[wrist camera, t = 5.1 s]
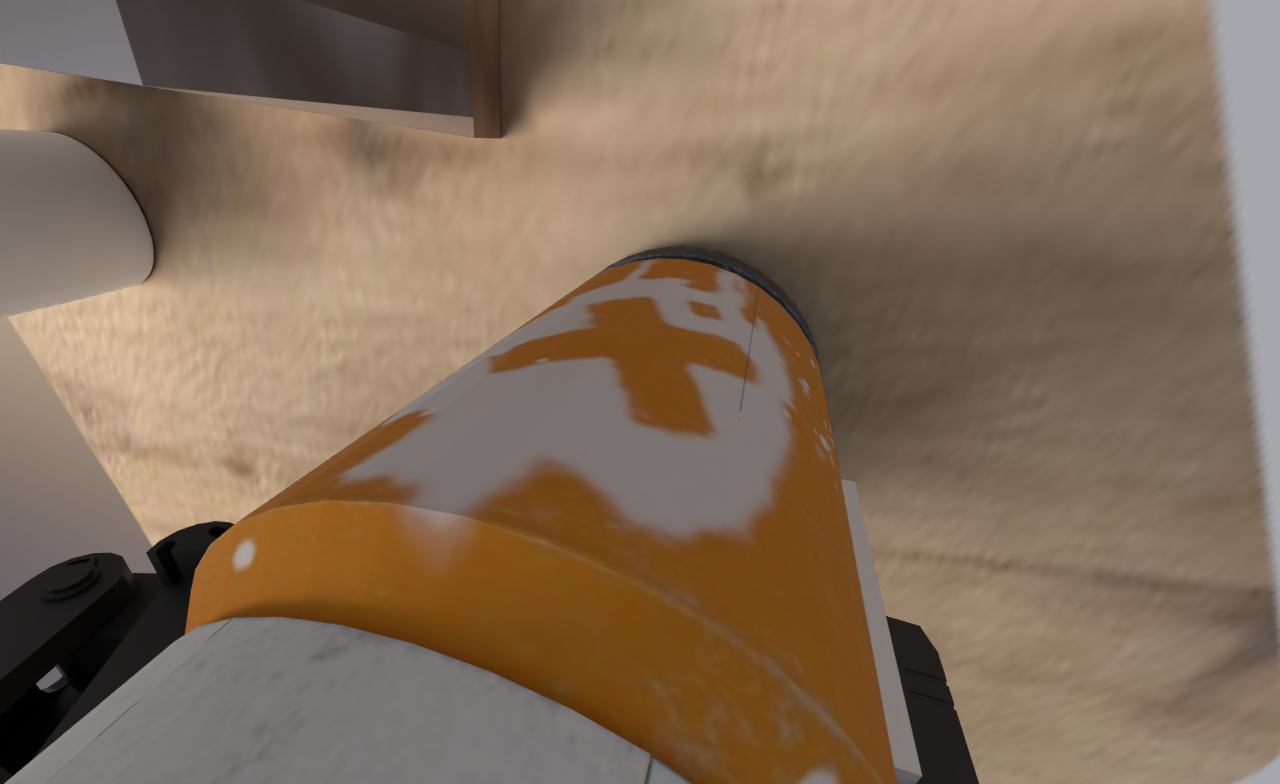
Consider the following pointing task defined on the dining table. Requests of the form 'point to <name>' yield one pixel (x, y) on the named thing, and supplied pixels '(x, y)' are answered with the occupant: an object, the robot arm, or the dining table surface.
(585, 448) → the canister
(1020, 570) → the dining table surface
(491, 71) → the holder
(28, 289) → the mug
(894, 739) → the robot arm
